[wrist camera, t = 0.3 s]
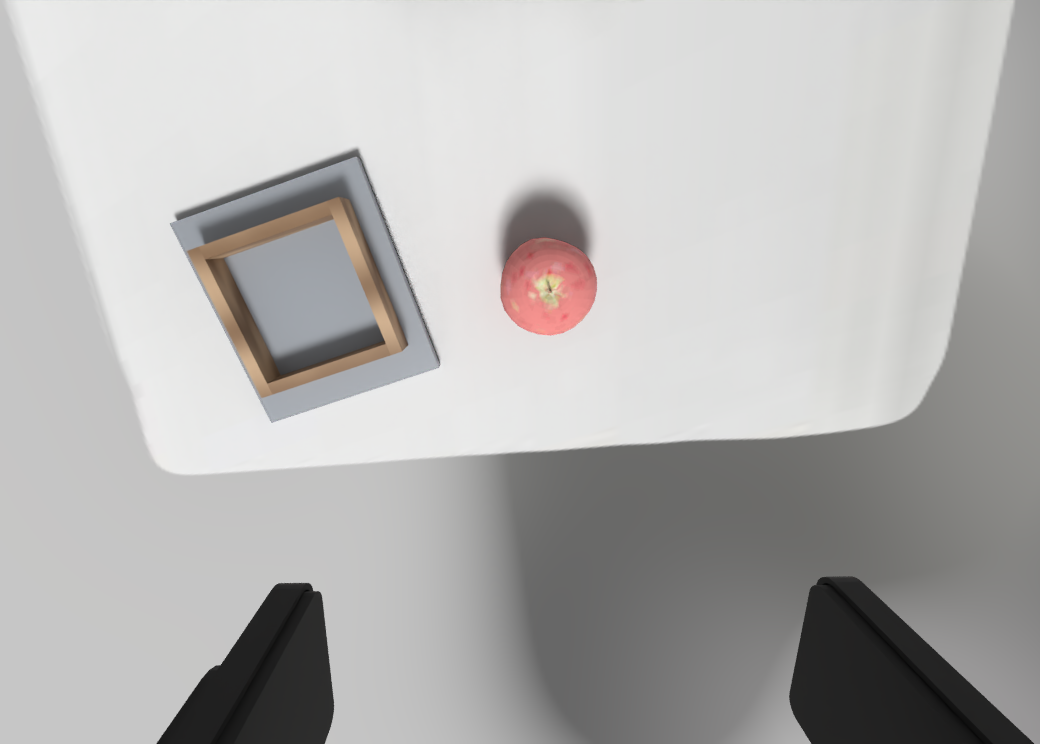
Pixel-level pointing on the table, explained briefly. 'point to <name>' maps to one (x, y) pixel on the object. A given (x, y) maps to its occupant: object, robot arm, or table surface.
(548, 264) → the apple
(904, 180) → the table surface
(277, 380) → the tray
